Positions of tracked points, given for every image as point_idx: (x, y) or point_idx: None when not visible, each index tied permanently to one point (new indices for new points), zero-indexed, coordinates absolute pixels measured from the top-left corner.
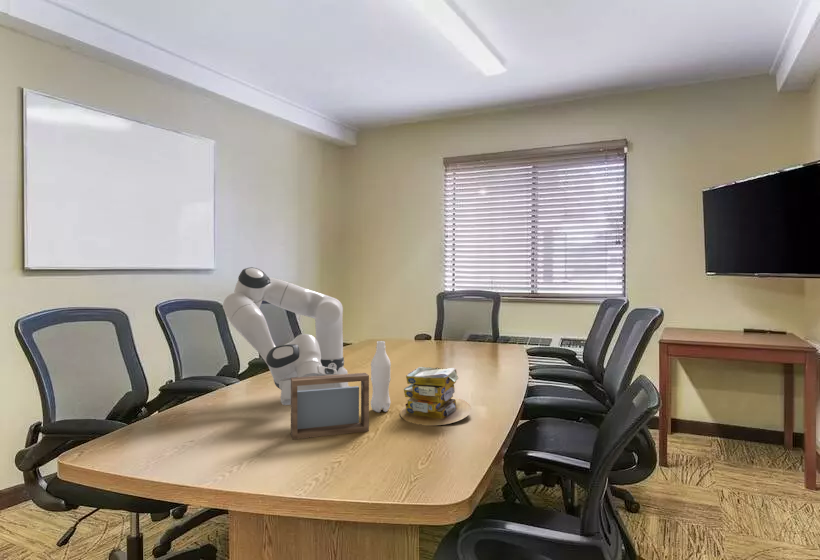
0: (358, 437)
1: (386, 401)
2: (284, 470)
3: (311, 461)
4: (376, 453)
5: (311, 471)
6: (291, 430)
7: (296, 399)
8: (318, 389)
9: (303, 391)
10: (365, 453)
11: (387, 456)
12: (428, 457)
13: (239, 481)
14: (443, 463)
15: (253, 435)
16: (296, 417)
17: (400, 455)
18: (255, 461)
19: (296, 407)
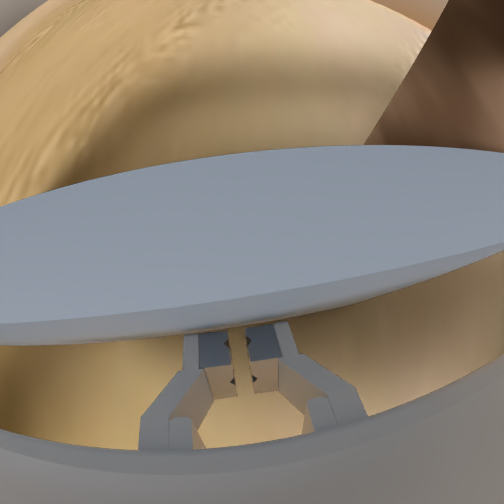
0: (54, 182)
1: None
2: (315, 17)
3: (253, 31)
4: (73, 63)
5: (253, 4)
6: None
7: (428, 51)
8: (128, 286)
9: (467, 163)
10: (97, 60)
11: (63, 53)
12: (8, 63)
13: (385, 18)
14: (11, 48)
15: (487, 290)
16: (369, 143)
17: (38, 62)
18: (400, 69)
19: (398, 97)
